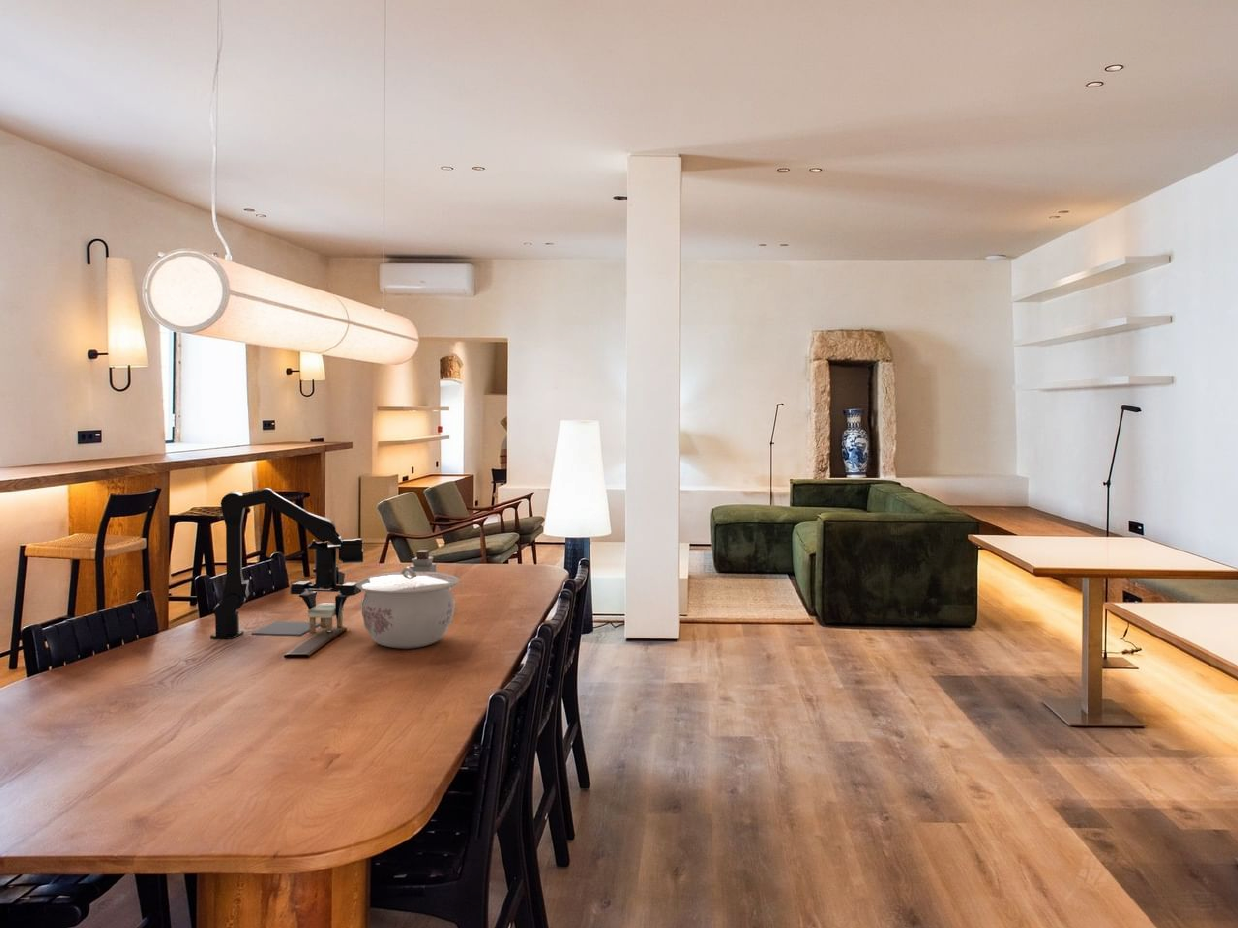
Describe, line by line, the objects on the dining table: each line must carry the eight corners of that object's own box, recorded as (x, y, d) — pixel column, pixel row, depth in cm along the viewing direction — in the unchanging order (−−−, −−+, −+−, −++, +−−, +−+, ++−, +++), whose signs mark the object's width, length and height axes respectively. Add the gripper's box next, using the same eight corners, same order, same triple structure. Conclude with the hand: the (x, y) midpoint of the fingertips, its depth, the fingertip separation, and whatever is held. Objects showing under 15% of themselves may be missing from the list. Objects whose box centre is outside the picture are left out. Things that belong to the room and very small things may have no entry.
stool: (330, 633, 241) (330, 610, 241) (308, 632, 242) (308, 609, 241) (343, 625, 250) (343, 603, 250) (322, 625, 251) (321, 603, 250)
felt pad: (300, 635, 238) (300, 634, 238) (251, 634, 239) (251, 633, 239) (321, 623, 252) (321, 622, 252) (276, 622, 253) (276, 621, 253)
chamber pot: (435, 659, 216) (435, 577, 215) (335, 652, 221) (334, 573, 220) (476, 632, 243) (475, 559, 242) (386, 627, 249) (385, 556, 248)
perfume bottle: (436, 604, 279) (436, 549, 278) (429, 609, 272) (429, 552, 271) (416, 604, 280) (416, 549, 279) (409, 608, 273) (408, 552, 272)
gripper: (368, 560, 252) (368, 612, 253) (306, 558, 254) (307, 611, 254) (353, 566, 241) (353, 621, 242) (289, 565, 243) (289, 619, 243)
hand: (326, 618), depth 246 cm, fingers closed on stool, 6 cm apart
